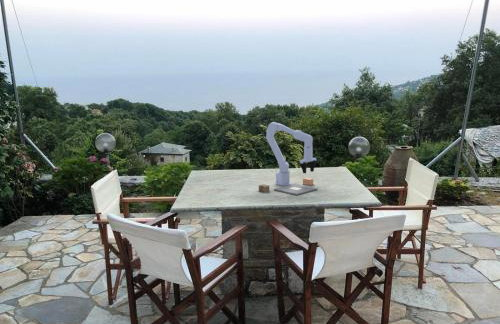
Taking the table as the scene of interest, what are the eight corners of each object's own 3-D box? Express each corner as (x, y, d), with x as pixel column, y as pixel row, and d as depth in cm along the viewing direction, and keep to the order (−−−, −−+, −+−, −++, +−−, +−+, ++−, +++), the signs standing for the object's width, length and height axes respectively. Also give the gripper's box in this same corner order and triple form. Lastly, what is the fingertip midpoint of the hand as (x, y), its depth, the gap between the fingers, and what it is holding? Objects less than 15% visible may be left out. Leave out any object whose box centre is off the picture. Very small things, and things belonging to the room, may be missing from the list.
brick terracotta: (302, 184, 273) (302, 178, 272) (306, 183, 276) (306, 177, 275) (309, 185, 268) (309, 179, 268) (313, 184, 271) (313, 178, 270)
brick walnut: (258, 191, 257) (258, 185, 257) (263, 189, 260) (263, 184, 259) (264, 192, 253) (264, 186, 252) (269, 191, 255) (269, 185, 255)
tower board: (273, 190, 258) (273, 188, 258) (294, 185, 271) (294, 183, 270) (296, 195, 243) (296, 193, 243) (317, 189, 256) (317, 188, 255)
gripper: (305, 154, 260) (305, 174, 262) (319, 152, 269) (319, 171, 271) (297, 153, 265) (297, 173, 268) (311, 151, 274) (311, 170, 277)
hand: (308, 172), depth 270 cm, fingers open, 7 cm apart
